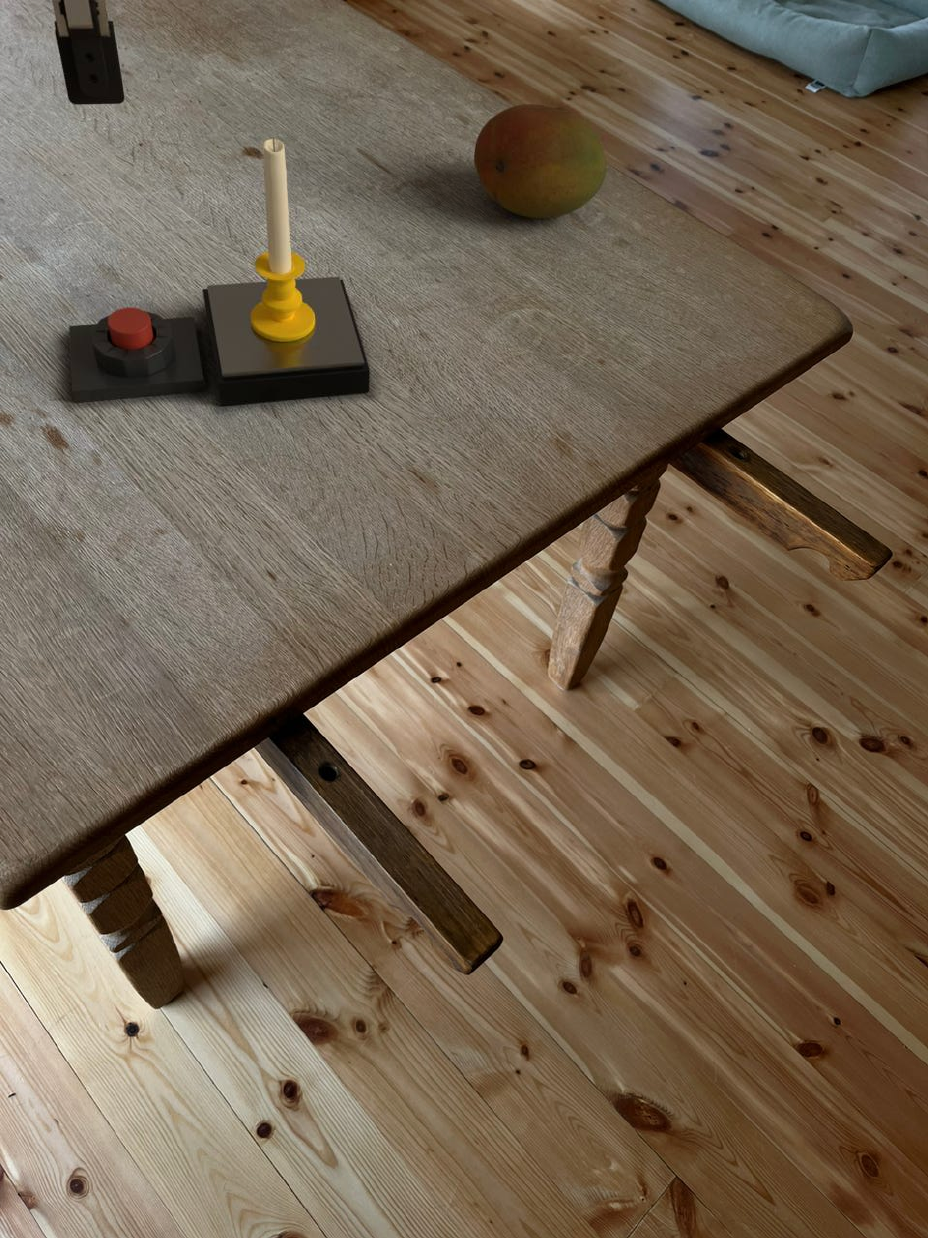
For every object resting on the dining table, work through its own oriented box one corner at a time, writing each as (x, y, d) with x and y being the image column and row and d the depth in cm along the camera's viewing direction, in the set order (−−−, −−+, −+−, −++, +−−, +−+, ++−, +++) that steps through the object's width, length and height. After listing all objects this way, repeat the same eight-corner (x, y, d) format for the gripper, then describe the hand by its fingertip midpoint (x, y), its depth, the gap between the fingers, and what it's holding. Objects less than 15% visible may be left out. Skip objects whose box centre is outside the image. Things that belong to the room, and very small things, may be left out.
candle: (326, 331, 82) (324, 148, 70) (268, 349, 80) (254, 163, 68) (297, 295, 85) (290, 111, 72) (240, 311, 83) (222, 125, 70)
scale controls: (75, 403, 79) (66, 373, 76) (72, 337, 83) (64, 307, 81) (205, 391, 81) (201, 361, 79) (195, 327, 86) (191, 298, 83)
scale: (221, 406, 80) (217, 377, 78) (205, 312, 87) (201, 282, 84) (369, 392, 83) (370, 363, 80) (342, 302, 90) (343, 272, 87)
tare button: (112, 352, 79) (108, 334, 77) (110, 326, 81) (106, 308, 79) (154, 349, 80) (151, 331, 78) (151, 323, 81) (148, 305, 80)
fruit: (451, 196, 101) (460, 96, 93) (540, 161, 107) (557, 64, 99) (529, 255, 97) (546, 155, 88) (619, 215, 102) (642, 117, 94)
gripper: (-58, -354, 50) (29, 40, 64) (-71, -264, 41) (32, 165, 56) (102, -341, 51) (151, 39, 66) (120, -252, 43) (172, 161, 57)
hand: (96, 96), depth 61 cm, fingers closed
